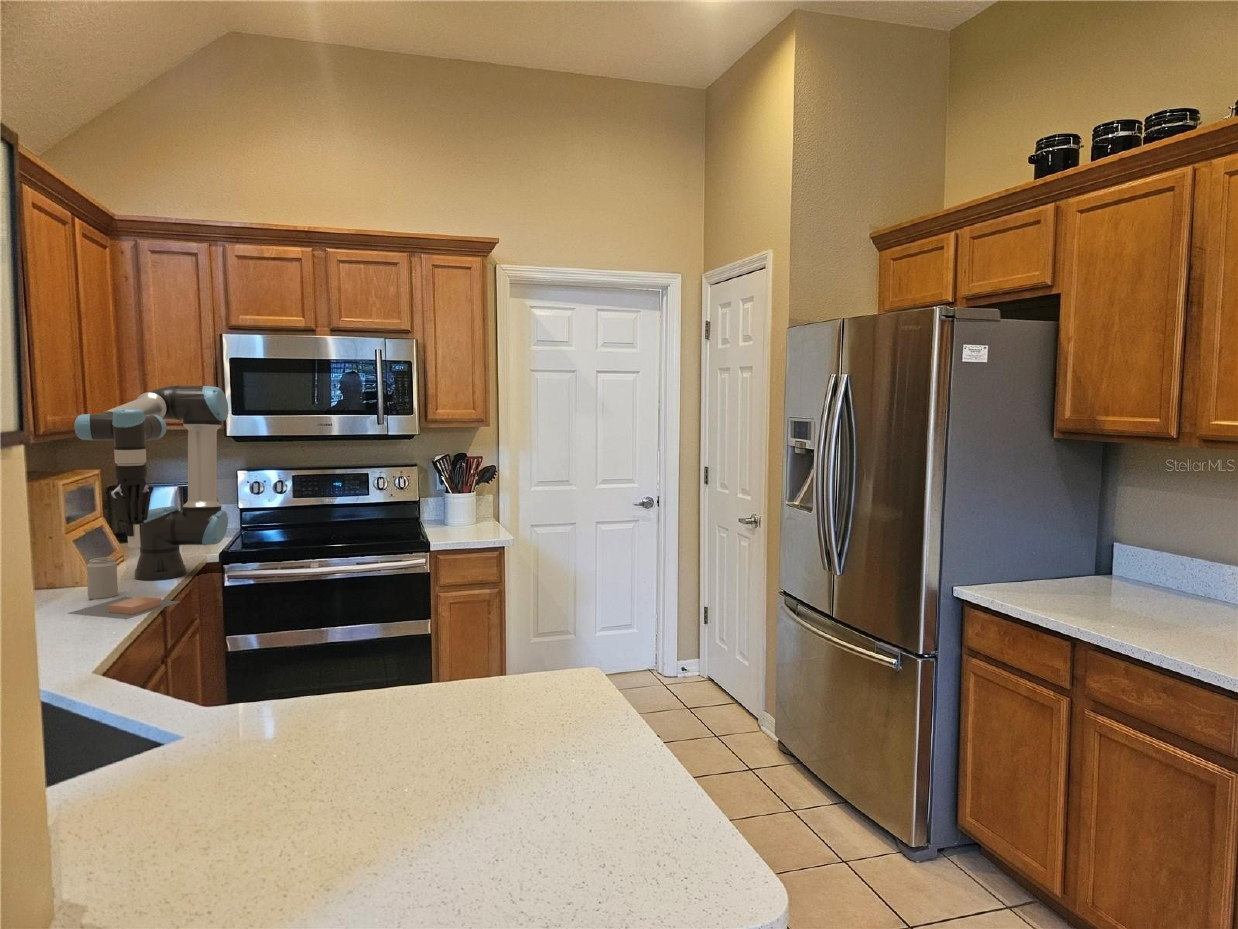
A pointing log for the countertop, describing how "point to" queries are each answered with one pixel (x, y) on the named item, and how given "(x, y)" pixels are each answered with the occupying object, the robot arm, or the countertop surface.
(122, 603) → the tile
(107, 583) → the can
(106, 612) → the mat
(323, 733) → the countertop surface
